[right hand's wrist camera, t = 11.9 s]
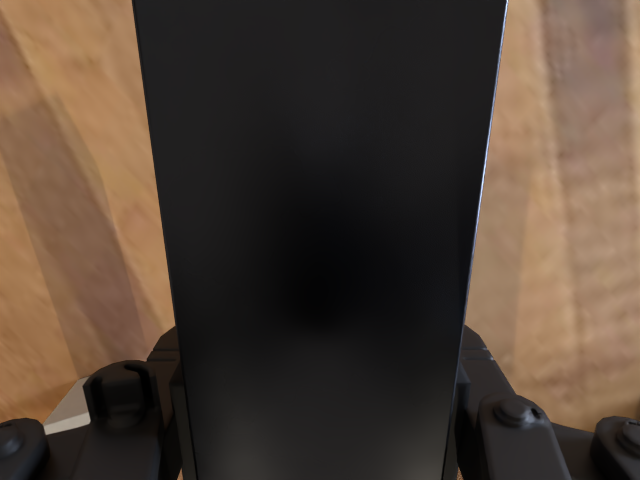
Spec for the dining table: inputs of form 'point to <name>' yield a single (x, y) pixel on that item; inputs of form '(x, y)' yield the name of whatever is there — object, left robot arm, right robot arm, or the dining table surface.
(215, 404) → the bar
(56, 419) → the cream block
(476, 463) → the right robot arm
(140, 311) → the dining table surface
